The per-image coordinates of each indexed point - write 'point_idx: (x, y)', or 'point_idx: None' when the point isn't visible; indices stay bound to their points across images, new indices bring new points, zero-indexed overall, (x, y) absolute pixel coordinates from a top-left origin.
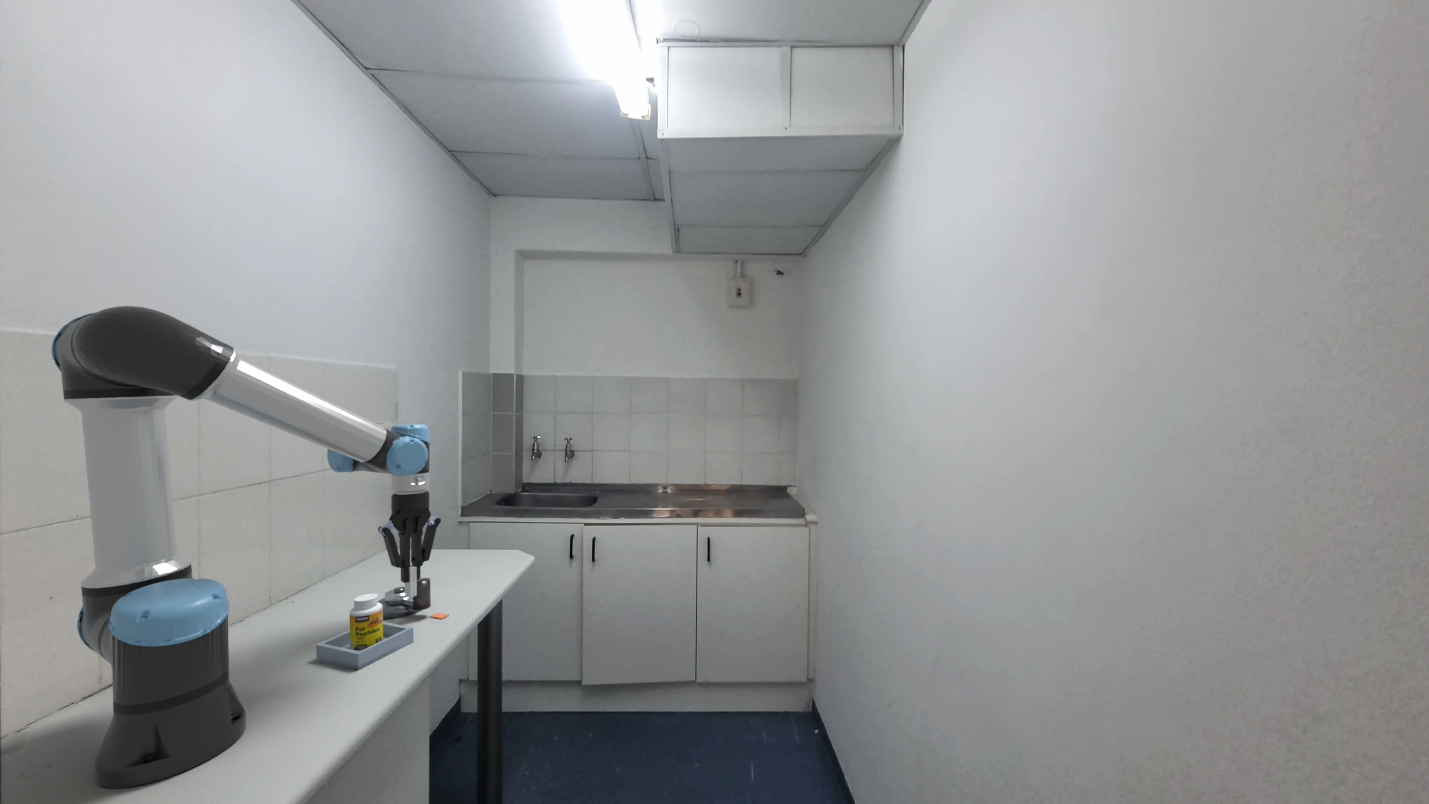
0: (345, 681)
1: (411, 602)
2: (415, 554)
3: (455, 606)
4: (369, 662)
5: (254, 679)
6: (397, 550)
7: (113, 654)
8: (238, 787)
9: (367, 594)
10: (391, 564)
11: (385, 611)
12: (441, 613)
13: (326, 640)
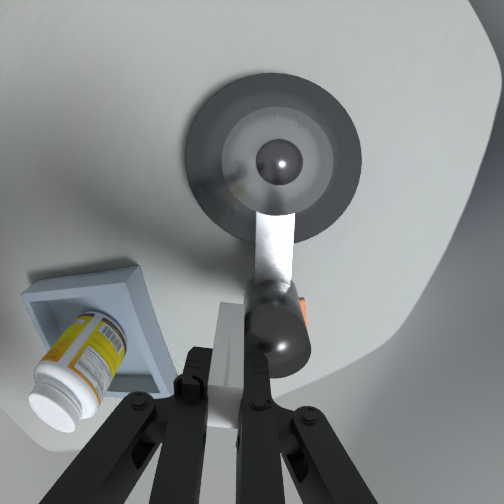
0: None
1: (255, 272)
2: (236, 475)
3: (361, 295)
4: None
5: None
6: (121, 501)
7: None
8: (15, 420)
9: (53, 405)
10: (125, 399)
11: (198, 202)
12: (305, 315)
13: (33, 294)
